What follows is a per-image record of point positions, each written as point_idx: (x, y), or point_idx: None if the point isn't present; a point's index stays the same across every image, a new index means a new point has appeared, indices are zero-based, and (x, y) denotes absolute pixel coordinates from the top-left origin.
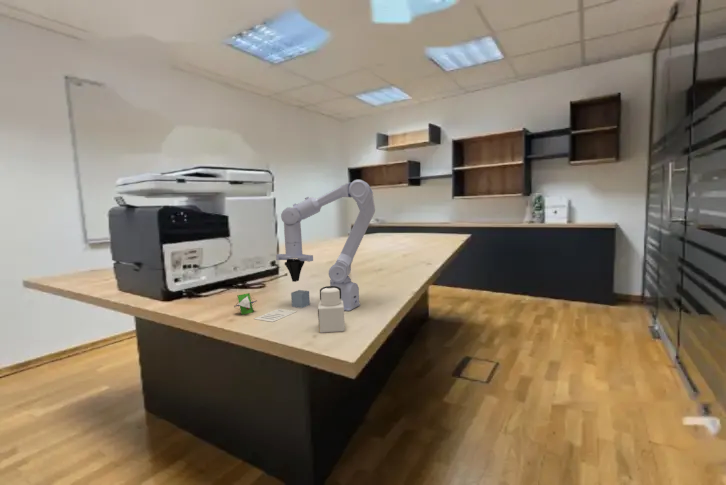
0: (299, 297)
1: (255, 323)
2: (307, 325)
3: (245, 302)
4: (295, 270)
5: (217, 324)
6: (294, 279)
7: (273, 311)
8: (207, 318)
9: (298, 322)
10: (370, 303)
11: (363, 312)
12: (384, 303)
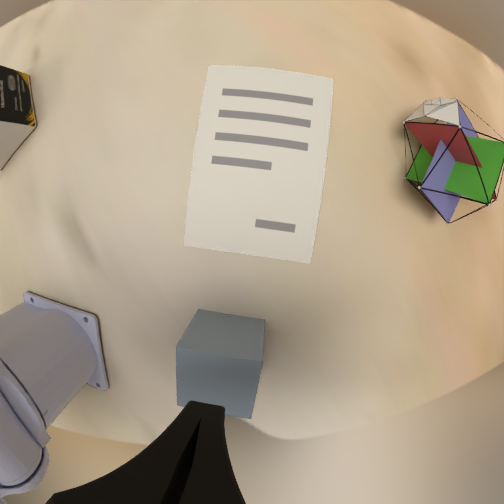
0: (198, 337)
1: (278, 34)
2: (66, 100)
3: (433, 102)
4: (122, 465)
5: (414, 21)
6: (188, 411)
7: (309, 206)
8: (491, 87)
9: (103, 108)
10: None
11: (3, 288)
12: None
